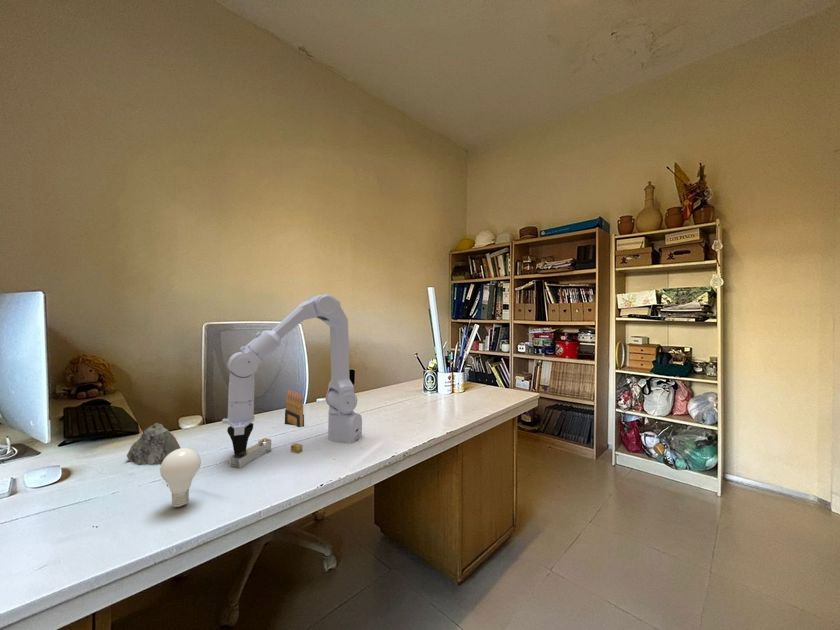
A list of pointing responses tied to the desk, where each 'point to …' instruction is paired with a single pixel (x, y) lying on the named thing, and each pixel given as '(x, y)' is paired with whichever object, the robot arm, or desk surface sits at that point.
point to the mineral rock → (153, 446)
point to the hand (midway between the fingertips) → (239, 455)
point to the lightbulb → (180, 473)
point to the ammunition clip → (294, 409)
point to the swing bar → (250, 453)
